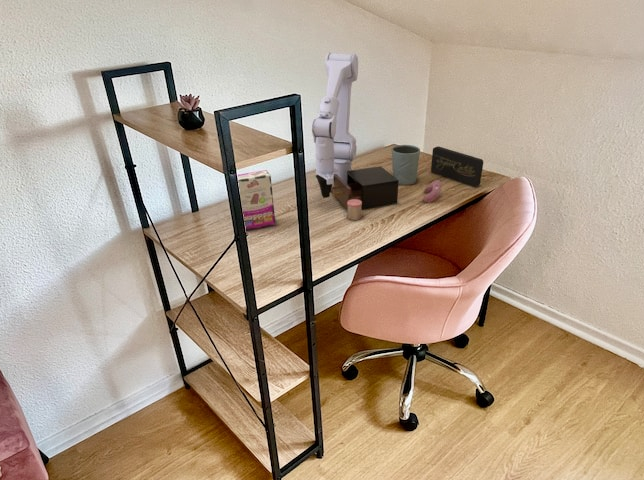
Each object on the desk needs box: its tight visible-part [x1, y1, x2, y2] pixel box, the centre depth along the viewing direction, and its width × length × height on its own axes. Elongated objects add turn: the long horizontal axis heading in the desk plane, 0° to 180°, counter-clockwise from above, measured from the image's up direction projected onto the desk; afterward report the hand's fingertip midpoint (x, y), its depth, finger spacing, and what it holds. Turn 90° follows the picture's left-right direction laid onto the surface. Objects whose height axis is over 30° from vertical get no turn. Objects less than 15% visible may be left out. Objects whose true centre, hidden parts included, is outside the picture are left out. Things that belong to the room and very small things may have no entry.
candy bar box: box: [237, 169, 276, 231], centre depth 148 cm, size 11×5×16 cm, turn 114°
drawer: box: [330, 174, 362, 211], centre depth 164 cm, size 16×14×8 cm
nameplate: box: [430, 145, 484, 188], centre depth 181 cm, size 21×2×10 cm, turn 43°
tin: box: [347, 199, 362, 221], centre depth 155 cm, size 5×5×5 cm
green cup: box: [391, 144, 421, 186], centre depth 179 cm, size 10×10×12 cm
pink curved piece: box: [422, 179, 443, 203], centre depth 168 cm, size 10×5×7 cm, turn 169°
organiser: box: [347, 165, 399, 211], centre depth 167 cm, size 13×14×8 cm
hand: (325, 196), depth 162 cm, fingers closed
